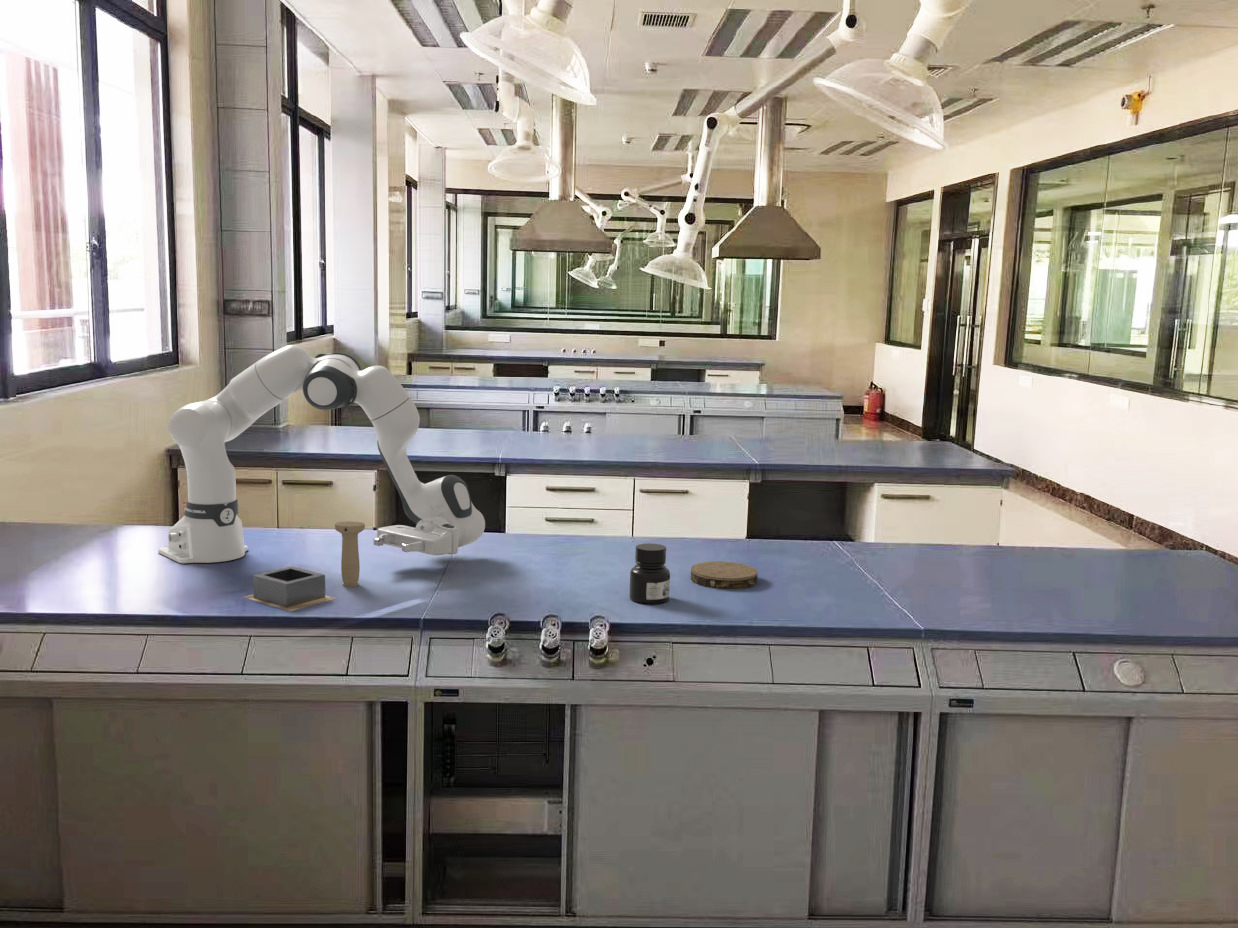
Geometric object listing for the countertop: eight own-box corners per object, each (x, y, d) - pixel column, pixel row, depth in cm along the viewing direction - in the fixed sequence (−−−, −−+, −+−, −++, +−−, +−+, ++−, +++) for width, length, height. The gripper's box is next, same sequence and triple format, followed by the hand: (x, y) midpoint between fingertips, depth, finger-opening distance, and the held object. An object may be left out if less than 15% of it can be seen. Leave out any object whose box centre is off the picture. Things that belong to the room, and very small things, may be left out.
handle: (360, 592, 232) (359, 526, 230) (332, 591, 233) (331, 525, 231) (368, 587, 237) (367, 522, 235) (341, 585, 238) (340, 520, 236)
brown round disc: (700, 570, 261) (701, 558, 261) (763, 577, 256) (764, 565, 256) (682, 585, 247) (683, 573, 246) (748, 593, 241) (749, 581, 241)
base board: (242, 601, 224) (242, 596, 224) (289, 589, 234) (288, 585, 233) (290, 615, 215) (290, 611, 215) (336, 602, 225) (336, 598, 224)
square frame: (253, 597, 223) (253, 575, 222) (292, 588, 231) (291, 566, 230) (286, 607, 217) (286, 584, 216) (325, 597, 225) (324, 574, 224)
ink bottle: (655, 607, 227) (657, 554, 226) (621, 600, 232) (622, 548, 230) (677, 597, 236) (678, 545, 234) (643, 591, 240) (644, 540, 238)
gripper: (402, 516, 260) (359, 525, 249) (462, 528, 249) (420, 538, 237) (402, 541, 261) (359, 551, 250) (462, 554, 250) (420, 565, 238)
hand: (389, 545), depth 244 cm, fingers open, 8 cm apart
